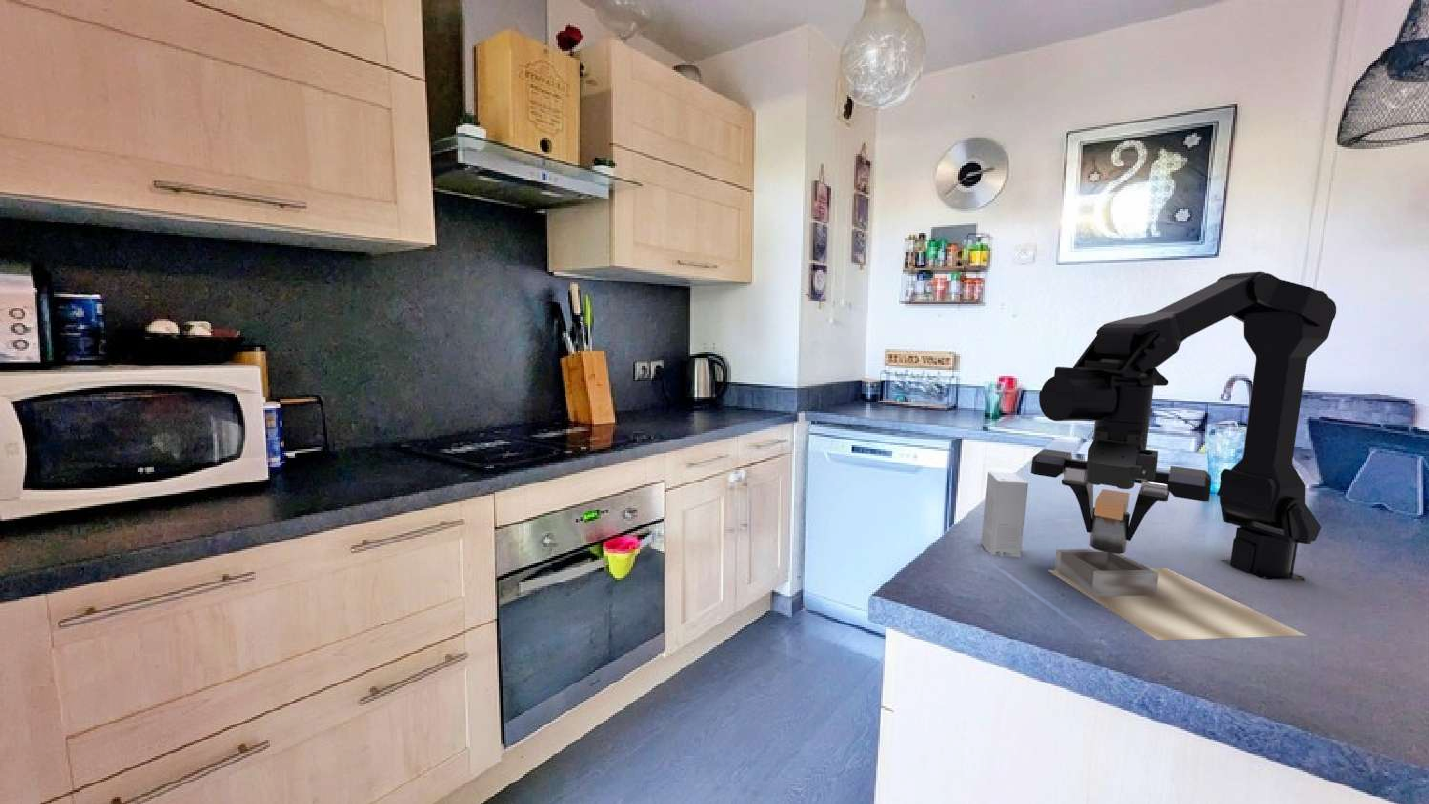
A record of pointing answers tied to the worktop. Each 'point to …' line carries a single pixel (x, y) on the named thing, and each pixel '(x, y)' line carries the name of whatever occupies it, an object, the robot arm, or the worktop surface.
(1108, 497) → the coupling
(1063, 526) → the worktop surface
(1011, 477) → the skincare box
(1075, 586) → the base
